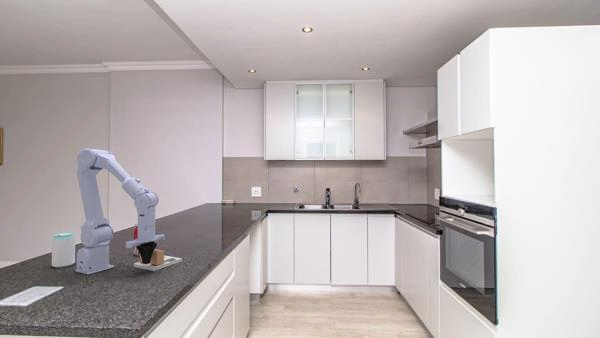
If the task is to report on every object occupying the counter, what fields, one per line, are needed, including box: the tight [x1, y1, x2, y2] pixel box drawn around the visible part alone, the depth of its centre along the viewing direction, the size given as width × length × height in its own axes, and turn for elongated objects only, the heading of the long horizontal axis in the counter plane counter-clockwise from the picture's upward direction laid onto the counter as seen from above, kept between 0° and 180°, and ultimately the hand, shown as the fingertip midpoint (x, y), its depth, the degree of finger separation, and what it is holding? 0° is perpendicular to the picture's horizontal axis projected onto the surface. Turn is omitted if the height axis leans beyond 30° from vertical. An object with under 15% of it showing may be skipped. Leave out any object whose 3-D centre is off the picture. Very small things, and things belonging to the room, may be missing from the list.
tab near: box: [150, 249, 165, 265], centre depth 116 cm, size 3×4×5 cm
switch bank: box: [133, 255, 183, 272], centre depth 120 cm, size 13×11×1 cm
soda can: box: [133, 223, 140, 257], centre depth 134 cm, size 7×7×13 cm
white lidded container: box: [51, 232, 76, 269], centre depth 118 cm, size 7×7×12 cm
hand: (146, 263), depth 112 cm, fingers closed
